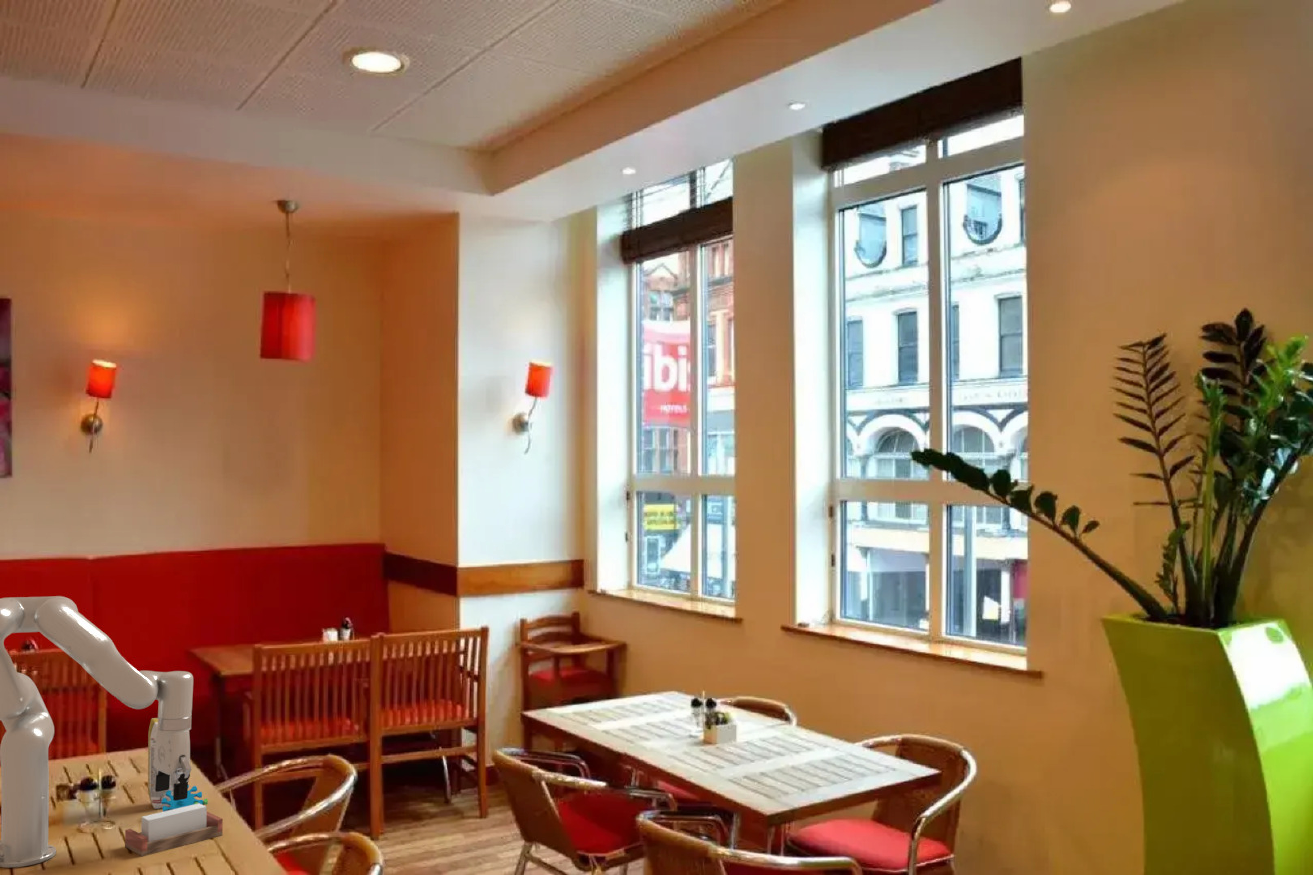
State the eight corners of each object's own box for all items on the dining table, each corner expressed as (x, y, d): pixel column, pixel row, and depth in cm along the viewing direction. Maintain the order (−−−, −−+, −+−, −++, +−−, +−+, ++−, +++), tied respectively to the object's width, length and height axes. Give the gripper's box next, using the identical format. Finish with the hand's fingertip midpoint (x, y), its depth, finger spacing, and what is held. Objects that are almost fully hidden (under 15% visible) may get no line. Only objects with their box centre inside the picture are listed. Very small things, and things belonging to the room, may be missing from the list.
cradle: (141, 856, 256) (142, 838, 256) (125, 846, 262) (125, 829, 263) (222, 835, 270) (222, 818, 271) (204, 826, 277) (204, 810, 277)
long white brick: (148, 846, 260) (148, 820, 260) (141, 842, 263) (141, 816, 263) (206, 831, 270) (206, 806, 270) (198, 827, 273) (199, 803, 273)
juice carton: (183, 797, 301) (184, 709, 302) (188, 805, 294) (189, 714, 295) (146, 803, 296) (147, 713, 297) (150, 811, 289) (151, 719, 290)
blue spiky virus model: (157, 816, 280) (166, 781, 287) (157, 828, 283) (166, 792, 291) (203, 819, 282) (211, 783, 290) (203, 830, 286) (210, 795, 293)
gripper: (143, 719, 270) (140, 790, 269) (174, 732, 258) (171, 806, 258) (174, 715, 276) (170, 784, 275) (206, 727, 264) (202, 800, 263)
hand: (171, 795), depth 266 cm, fingers open, 9 cm apart
